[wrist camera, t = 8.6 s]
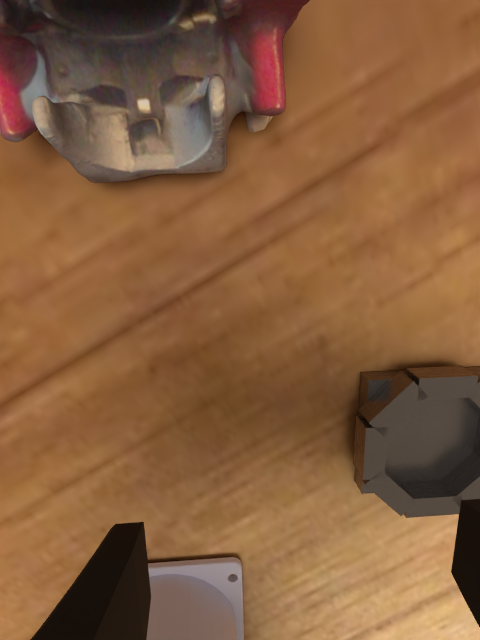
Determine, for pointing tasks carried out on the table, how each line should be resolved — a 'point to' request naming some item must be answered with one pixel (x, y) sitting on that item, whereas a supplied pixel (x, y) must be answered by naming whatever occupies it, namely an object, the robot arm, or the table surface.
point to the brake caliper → (141, 79)
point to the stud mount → (419, 438)
